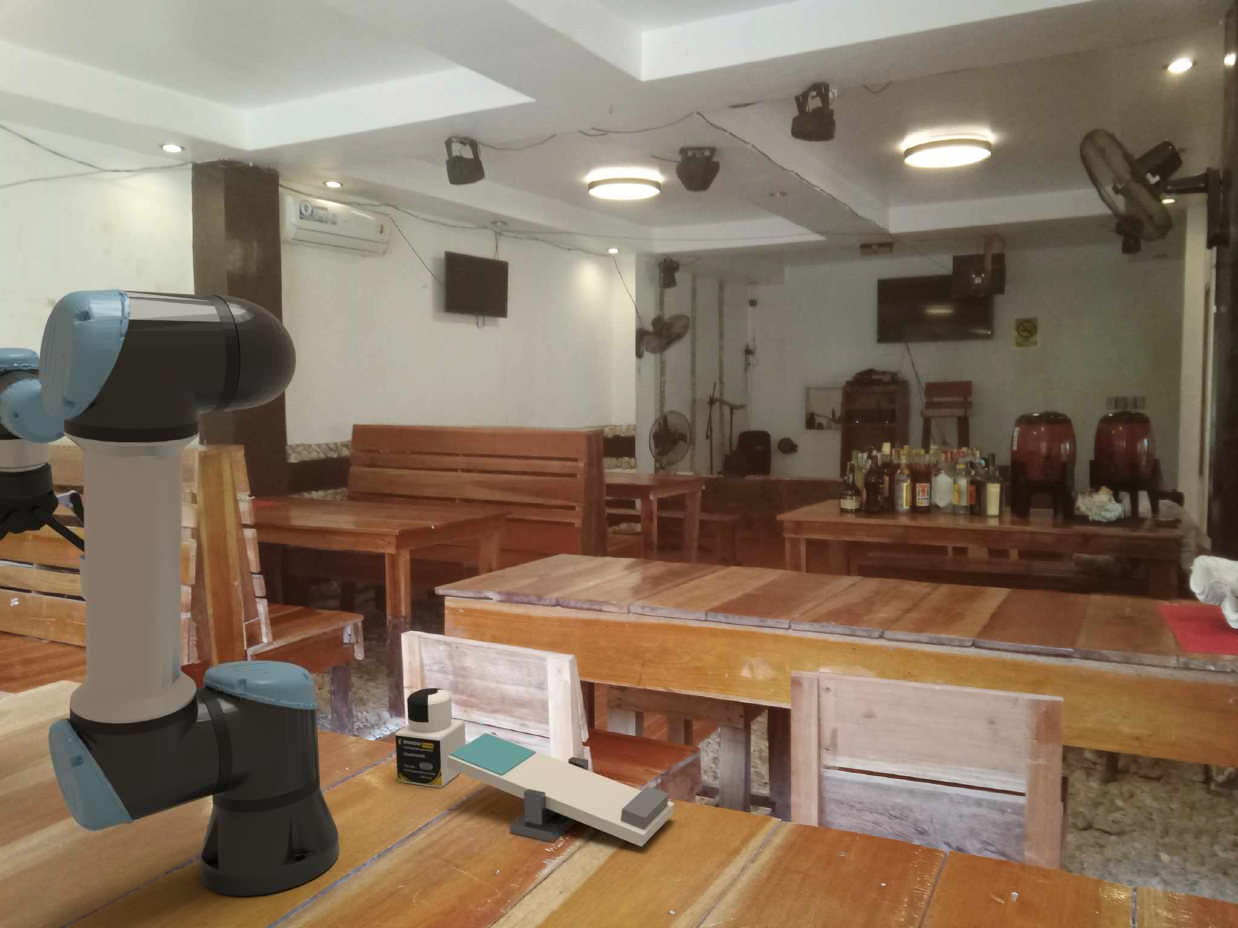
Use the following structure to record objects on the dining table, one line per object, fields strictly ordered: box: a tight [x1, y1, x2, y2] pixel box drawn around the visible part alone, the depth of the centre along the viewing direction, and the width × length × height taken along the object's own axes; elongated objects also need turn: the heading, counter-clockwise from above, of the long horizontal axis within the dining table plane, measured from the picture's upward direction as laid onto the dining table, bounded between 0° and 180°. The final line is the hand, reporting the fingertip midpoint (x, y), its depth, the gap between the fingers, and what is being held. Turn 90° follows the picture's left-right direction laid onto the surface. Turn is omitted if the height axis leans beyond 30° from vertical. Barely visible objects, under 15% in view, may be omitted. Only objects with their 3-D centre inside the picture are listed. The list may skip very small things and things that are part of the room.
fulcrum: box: [509, 756, 589, 843], centre depth 120 cm, size 6×13×5 cm, turn 153°
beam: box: [447, 732, 675, 847], centre depth 120 cm, size 28×9×3 cm, turn 64°
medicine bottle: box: [394, 687, 467, 789], centre depth 133 cm, size 7×7×12 cm
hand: (34, 611), depth 133 cm, fingers open, 13 cm apart
